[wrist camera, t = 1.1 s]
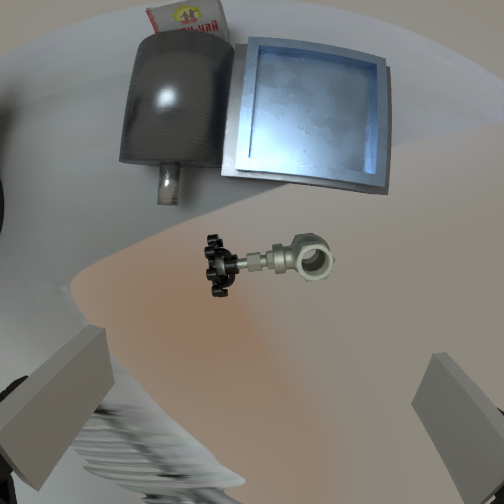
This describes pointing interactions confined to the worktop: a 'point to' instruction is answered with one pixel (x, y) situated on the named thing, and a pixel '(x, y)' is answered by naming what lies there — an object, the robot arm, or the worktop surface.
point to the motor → (259, 112)
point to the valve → (268, 261)
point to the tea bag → (190, 17)
